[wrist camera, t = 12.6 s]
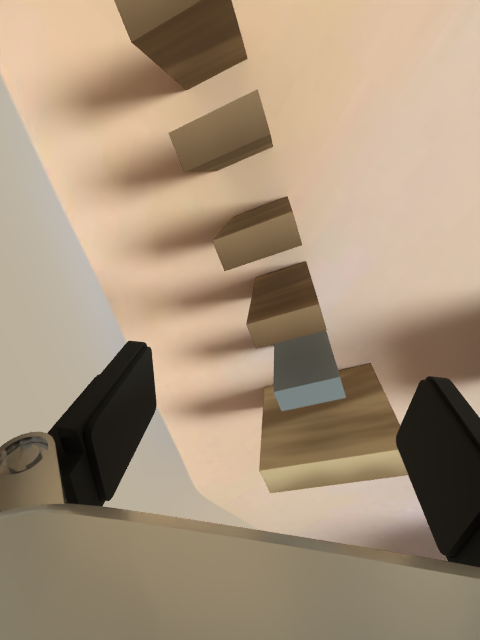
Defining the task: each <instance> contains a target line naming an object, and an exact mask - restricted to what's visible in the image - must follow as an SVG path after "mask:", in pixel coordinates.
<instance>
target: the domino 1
mask: <svg viewBox="0 0 480 640" xmlns="http://www.w3.org/2000/svg"><path fill="white" fill-rule="evenodd" d="M114 1H115V3H116V6H117V8H118V11H119V13H120V16H121V18H122V20H123V23H124V25H125V28H126V30H127V33H128V35H129V38H130V40H131V42H132V43H133V44H134V45H135V46H136V47H138V48H139V49H140V50H141V51H142V52H143V53H145V54H146V55H147V56H148V57H149V58H150V59H152V60H153V61H154V62H155V63H156V64H157V65H159V66H160V67H161V68H162V69H163V70H164V71H166V72H167V73H168V74H169V75H170V76H171V77H173V78H174V79H175V80H176V81H177V82H178V83H180V84H181V85H182V86H183V87H184V88H185V89H187V90H188V89H190V88H192V87H194V86H196V85H198V84H199V83H201V82H203V81H205V80H207V79H209V78H211V77H213V76H215V75H217V74H219V73H221V72H223V71H224V70H226V69H228V68H230V67H232V66H234V65H236V64H238V63H240V62H242V61H244V60H246V59H248V58H247V55H246V51H245V47H244V44H243V40H242V37H241V33H240V30H239V26H238V22H237V19H236V15H235V12H234V8H233V4H232V1H231V0H114Z"/></svg>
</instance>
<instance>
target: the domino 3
mask: <svg viewBox="0 0 480 640" xmlns="http://www.w3.org/2000/svg"><path fill="white" fill-rule="evenodd" d="M213 244H214V246H215V249H216V251H217V254H218V256H219V259H220V261H221V263H222V266H223V268H224V271H227V270H230V269H233V268H236V267H239V266H242V265H245V264H247V263H250V262H253V261H256V260H259V259H262V258H265V257H268V256H271V255H274V254H277V253H280V252H283V251H286V250H289V249H292V248H295V247H298V246H301V245H302V243H301V239H300V236H299V232H298V229H297V225H296V222H295V218H294V215H293V211H292V209H291V206H290V203H289V200H288V197H285V198H282V199H280V200H277V201H274V202H272V203H269V204H267V205H264V206H261V207H259V208H256V209H254V210H251V211H248V212H246V213H243V214H241V215H238V216H235V217H233V218H232V220H231V221H230V222H229V223H228V224H227V225H226V226H225V227H224V229H223V230H222V231H221V232H220V233H219V234H218V235H217V237H216V238H215V239H214V240H213Z"/></svg>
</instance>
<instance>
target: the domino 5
mask: <svg viewBox="0 0 480 640" xmlns="http://www.w3.org/2000/svg"><path fill="white" fill-rule="evenodd" d="M274 394H275V397H276V399H277V402H278V404H279V406H280V409H281V411H286V410H290V409H295V408H300V407H305V406H309V405H314V404H319V403H324V402H328V401H333V400H338V399H343V398H346V396H345V392H344V389H343V386H342V382H341V379H340V376H339V372H338V369H337V365H336V362H335V359H334V355H333V352H332V349H331V345H330V342H329V339H328V335H327V332H326V330H325V331H321V332H317V333H314V334H310V335H306V336H302V337H298V338H294V339H291V340H287V341H283V342H279V343H275V344H274Z"/></svg>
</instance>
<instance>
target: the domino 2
mask: <svg viewBox="0 0 480 640" xmlns="http://www.w3.org/2000/svg"><path fill="white" fill-rule="evenodd" d="M169 135H170V138H171V140H172V143H173V145H174V148H175V150H176V153H177V155H178V157H179V160H180V162H181V165H182V167H183V170H184V172H203V171H218V170H220V169H222V168H225V167H227V166H229V165H231V164H234V163H236V162H238V161H241V160H243V159H245V158H248V157H250V156H252V155H255V154H257V153H259V152H261V151H264V150H266V149H268V148H271V147H273V144H272V140H271V135H270V131H269V128H268V124H267V121H266V117H265V114H264V110H263V107H262V103H261V100H260V96H259V93H258V90H256V91H254V92H252V93H249V94H247V95H245V96H243V97H241V98H239V99H237V100H235V101H233V102H231V103H229V104H227V105H225V106H223V107H221V108H219V109H217V110H215V111H213V112H211V113H209V114H207V115H205V116H202V117H200V118H198V119H196V120H194V121H192V122H190V123H188V124H186V125H184V126H182V127H180V128H178V129H176V130H174V131H172V132H170V133H169Z"/></svg>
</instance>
